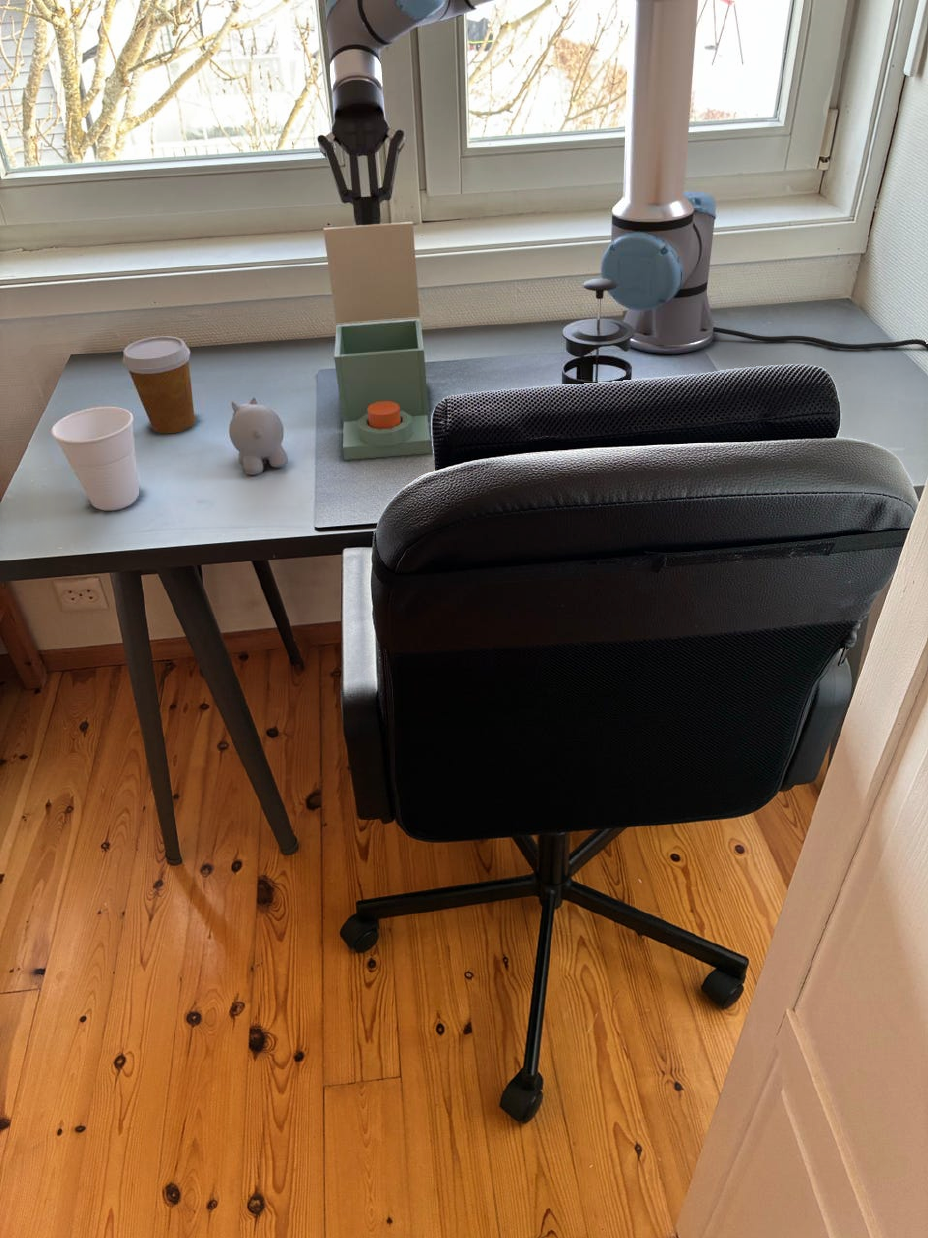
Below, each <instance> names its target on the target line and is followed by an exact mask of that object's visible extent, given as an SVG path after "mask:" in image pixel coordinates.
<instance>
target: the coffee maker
mask: <svg viewBox="0 0 928 1238" xmlns="http://www.w3.org/2000/svg"><path fill="white" fill-rule="evenodd" d="M335 327H336V329H335V339H334V340H335V341H334V356H333V359H334V365H335V371H336V372H335V373H336V374H335V375H336V381H337V387H338V396H339V402H340V408H341V417H342V425H343V426H344V422H349V421H358V420H359V419H360V418H362V417H363V416H364V415H365V414H368V410H367V409H368V407H369V406H370V405H371V404H373V403H376V402H380V401H391V402H395V403H397V404H398V405H399V408H400V411H404V412H406V413H407V414H409V415H410V416H424V415H427V418H428V422H429V421H430V412H429V411H430V409H429V400H428V399H429V397H428V385H427V372H426V358H425V348H424V340H423V331H422V330H423V329H422V324H421V318H413V319H401V320H389V321H387V320H386V321H375V322H374V321H373V322H361V323H348V324H337V325H336V326H335Z"/></svg>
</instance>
